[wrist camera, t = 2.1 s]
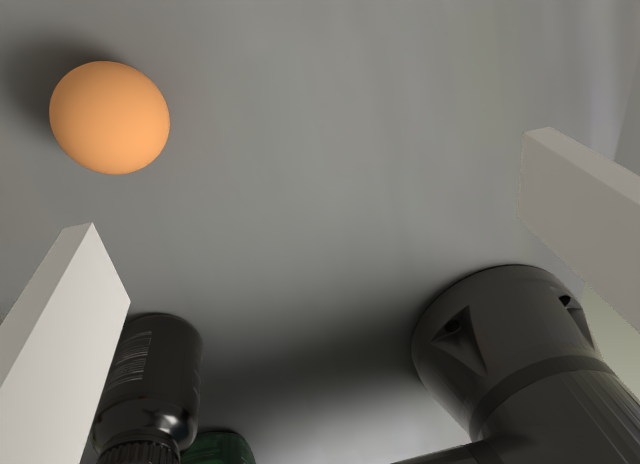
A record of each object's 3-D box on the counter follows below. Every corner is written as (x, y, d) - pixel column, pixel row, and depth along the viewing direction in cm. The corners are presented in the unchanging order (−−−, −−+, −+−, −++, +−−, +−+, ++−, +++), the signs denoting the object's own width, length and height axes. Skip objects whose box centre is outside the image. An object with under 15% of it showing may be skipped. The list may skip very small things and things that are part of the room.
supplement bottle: (117, 372, 39) (73, 521, 29) (115, 308, 36) (65, 450, 25) (202, 374, 40) (189, 516, 30) (208, 313, 37) (195, 449, 27)
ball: (156, 42, 27) (137, 63, 22) (188, 141, 30) (177, 179, 25) (51, 62, 27) (6, 88, 21) (94, 159, 30) (63, 202, 25)
